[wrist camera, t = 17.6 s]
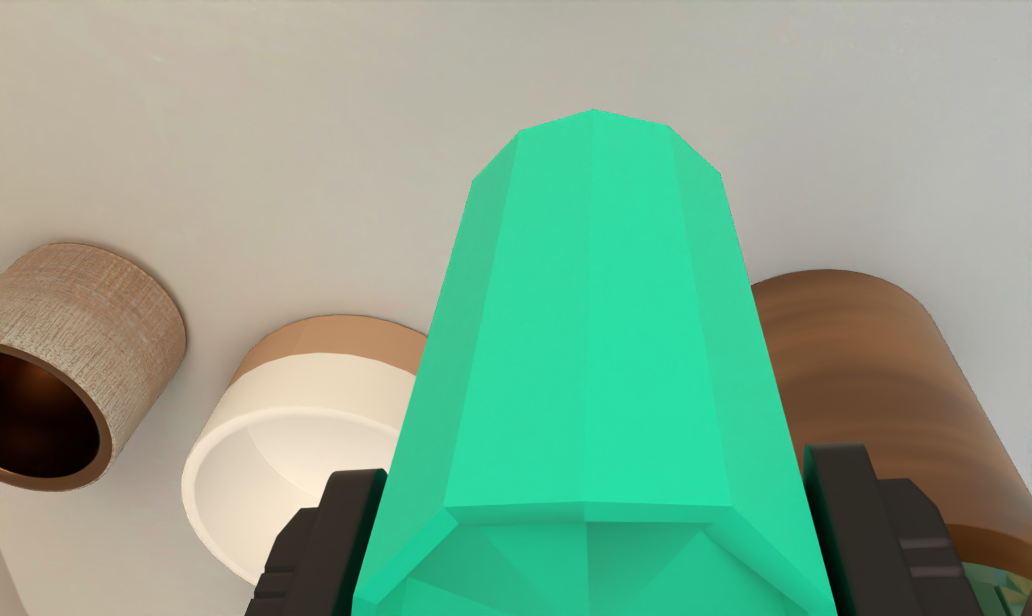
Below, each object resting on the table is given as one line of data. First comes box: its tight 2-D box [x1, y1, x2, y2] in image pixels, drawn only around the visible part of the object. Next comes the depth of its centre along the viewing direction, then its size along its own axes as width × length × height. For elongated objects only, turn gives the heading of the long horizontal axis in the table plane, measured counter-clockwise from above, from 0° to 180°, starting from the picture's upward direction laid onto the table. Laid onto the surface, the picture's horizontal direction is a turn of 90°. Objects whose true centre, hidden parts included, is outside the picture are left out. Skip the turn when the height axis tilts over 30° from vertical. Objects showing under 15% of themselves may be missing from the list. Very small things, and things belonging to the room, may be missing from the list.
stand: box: [751, 270, 1032, 581], centre depth 42 cm, size 15×15×18 cm
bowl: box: [181, 315, 428, 586], centre depth 51 cm, size 17×17×8 cm
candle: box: [351, 109, 837, 616], centre depth 14 cm, size 6×6×12 cm
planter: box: [0, 243, 186, 492], centre depth 47 cm, size 11×11×10 cm
